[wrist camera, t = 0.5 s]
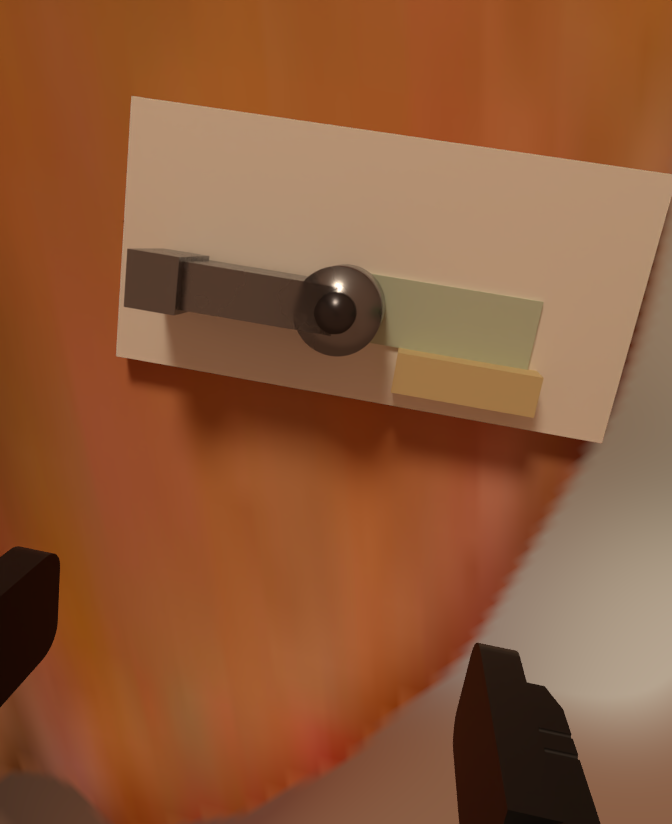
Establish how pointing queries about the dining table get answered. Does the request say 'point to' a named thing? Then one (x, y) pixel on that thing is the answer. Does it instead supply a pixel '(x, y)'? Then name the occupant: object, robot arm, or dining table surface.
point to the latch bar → (260, 296)
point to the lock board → (401, 261)
